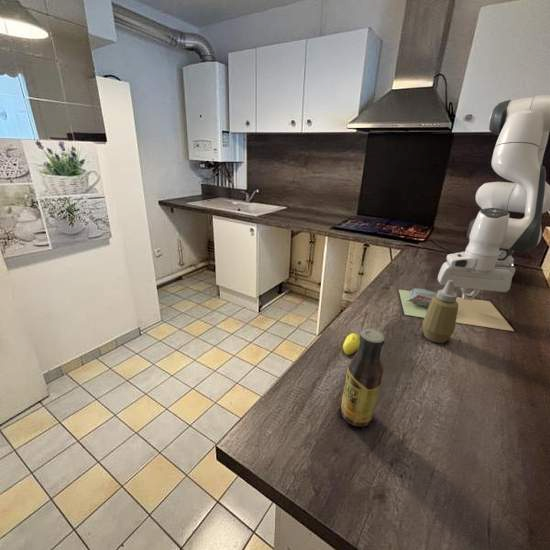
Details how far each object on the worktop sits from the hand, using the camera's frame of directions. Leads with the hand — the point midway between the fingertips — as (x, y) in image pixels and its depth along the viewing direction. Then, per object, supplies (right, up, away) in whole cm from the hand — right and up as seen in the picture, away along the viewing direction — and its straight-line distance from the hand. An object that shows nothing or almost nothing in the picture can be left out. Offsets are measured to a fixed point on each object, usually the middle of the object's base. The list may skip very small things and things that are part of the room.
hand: (467, 299), depth 98 cm
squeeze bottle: (-19, -10, -14) cm, 25 cm away
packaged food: (-12, -2, +4) cm, 13 cm away
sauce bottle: (-49, -20, -40) cm, 66 cm away
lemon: (-44, -12, -20) cm, 50 cm away
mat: (-4, -3, +2) cm, 6 cm away
